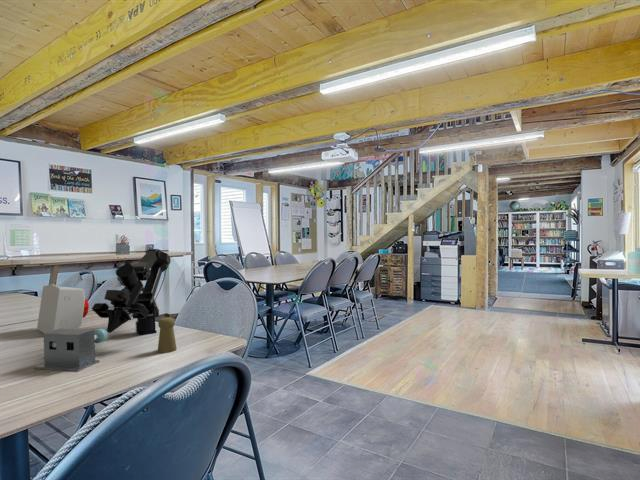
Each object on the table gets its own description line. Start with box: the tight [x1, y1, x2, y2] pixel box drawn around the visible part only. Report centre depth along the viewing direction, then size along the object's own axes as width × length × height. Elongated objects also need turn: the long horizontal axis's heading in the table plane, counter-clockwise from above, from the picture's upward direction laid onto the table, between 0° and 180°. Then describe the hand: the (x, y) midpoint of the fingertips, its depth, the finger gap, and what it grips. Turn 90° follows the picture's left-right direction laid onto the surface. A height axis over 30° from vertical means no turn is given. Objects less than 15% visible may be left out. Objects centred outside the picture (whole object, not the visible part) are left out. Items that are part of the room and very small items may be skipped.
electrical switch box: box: [36, 283, 90, 334], centre depth 158 cm, size 15×15×20 cm
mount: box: [33, 328, 100, 372], centre depth 113 cm, size 8×15×10 cm, turn 80°
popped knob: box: [93, 327, 108, 344], centre depth 119 cm, size 8×4×4 cm, turn 170°
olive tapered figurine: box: [157, 316, 177, 354], centre depth 127 cm, size 6×6×11 cm
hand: (108, 332), depth 126 cm, fingers closed
